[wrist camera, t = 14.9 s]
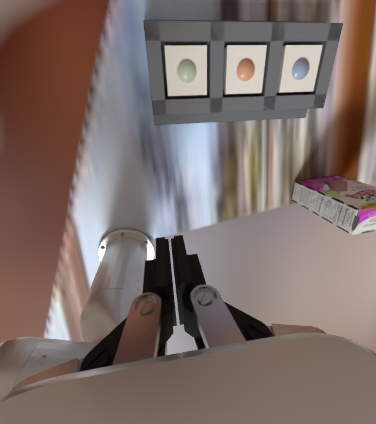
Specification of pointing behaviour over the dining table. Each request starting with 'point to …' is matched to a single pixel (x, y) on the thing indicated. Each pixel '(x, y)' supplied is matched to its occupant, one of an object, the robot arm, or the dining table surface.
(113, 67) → the dining table surface
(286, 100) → the grey button panel
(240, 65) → the key terracotta
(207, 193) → the dining table surface
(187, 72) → the key sage
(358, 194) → the candy bar box
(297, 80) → the key slate
